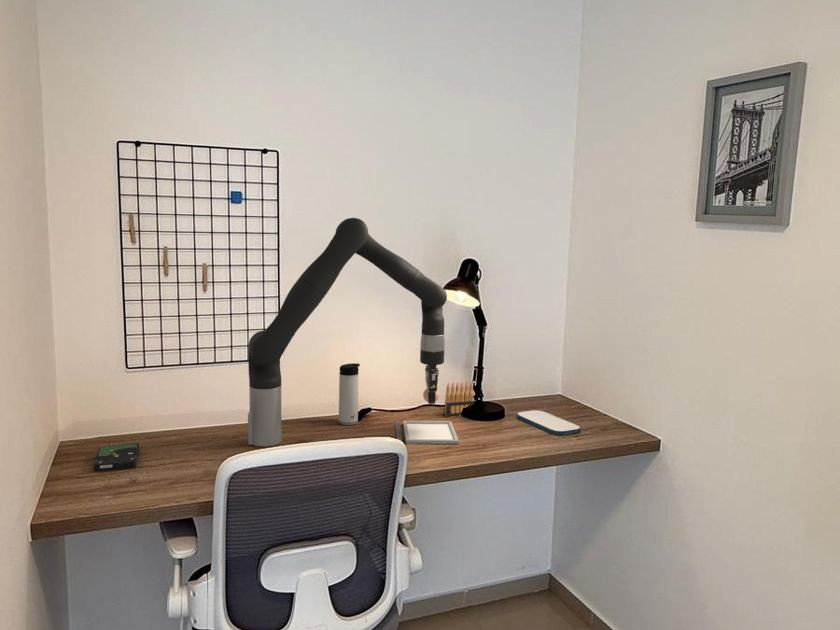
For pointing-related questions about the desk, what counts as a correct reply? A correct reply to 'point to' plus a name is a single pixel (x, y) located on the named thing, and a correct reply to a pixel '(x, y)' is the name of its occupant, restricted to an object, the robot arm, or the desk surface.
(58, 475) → the desk surface
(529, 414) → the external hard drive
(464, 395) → the ammunition clip
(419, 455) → the desk surface
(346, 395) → the travel mug
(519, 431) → the desk surface
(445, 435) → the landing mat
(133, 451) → the disk drive
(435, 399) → the rubber ball
